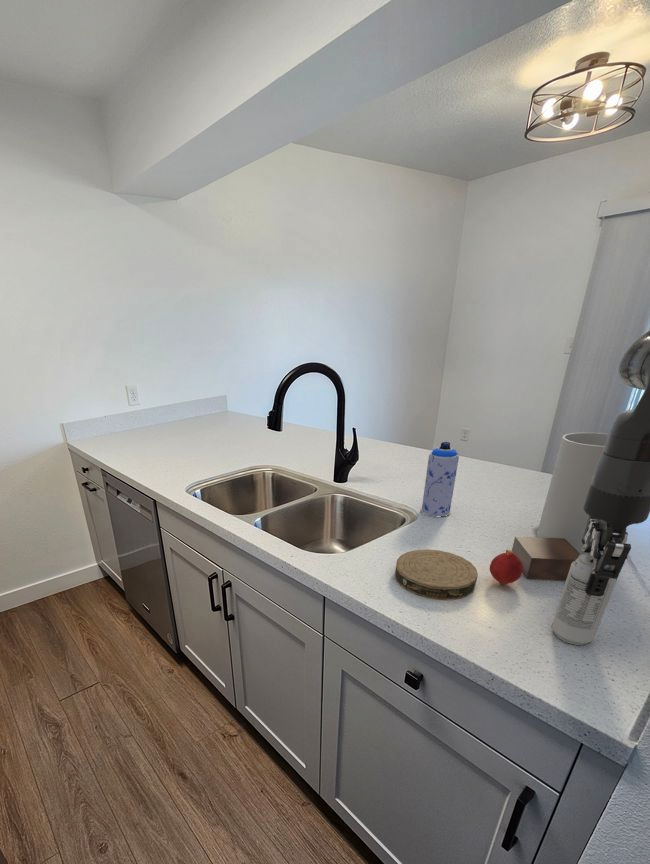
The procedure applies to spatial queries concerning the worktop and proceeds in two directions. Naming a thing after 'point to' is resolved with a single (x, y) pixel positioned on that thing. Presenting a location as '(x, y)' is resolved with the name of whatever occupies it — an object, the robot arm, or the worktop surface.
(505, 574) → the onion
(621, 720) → the worktop surface
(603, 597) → the energy drink can
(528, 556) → the walnut block
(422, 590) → the wood slice
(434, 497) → the aerosol can
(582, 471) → the cylinder vase
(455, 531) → the worktop surface
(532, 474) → the worktop surface
